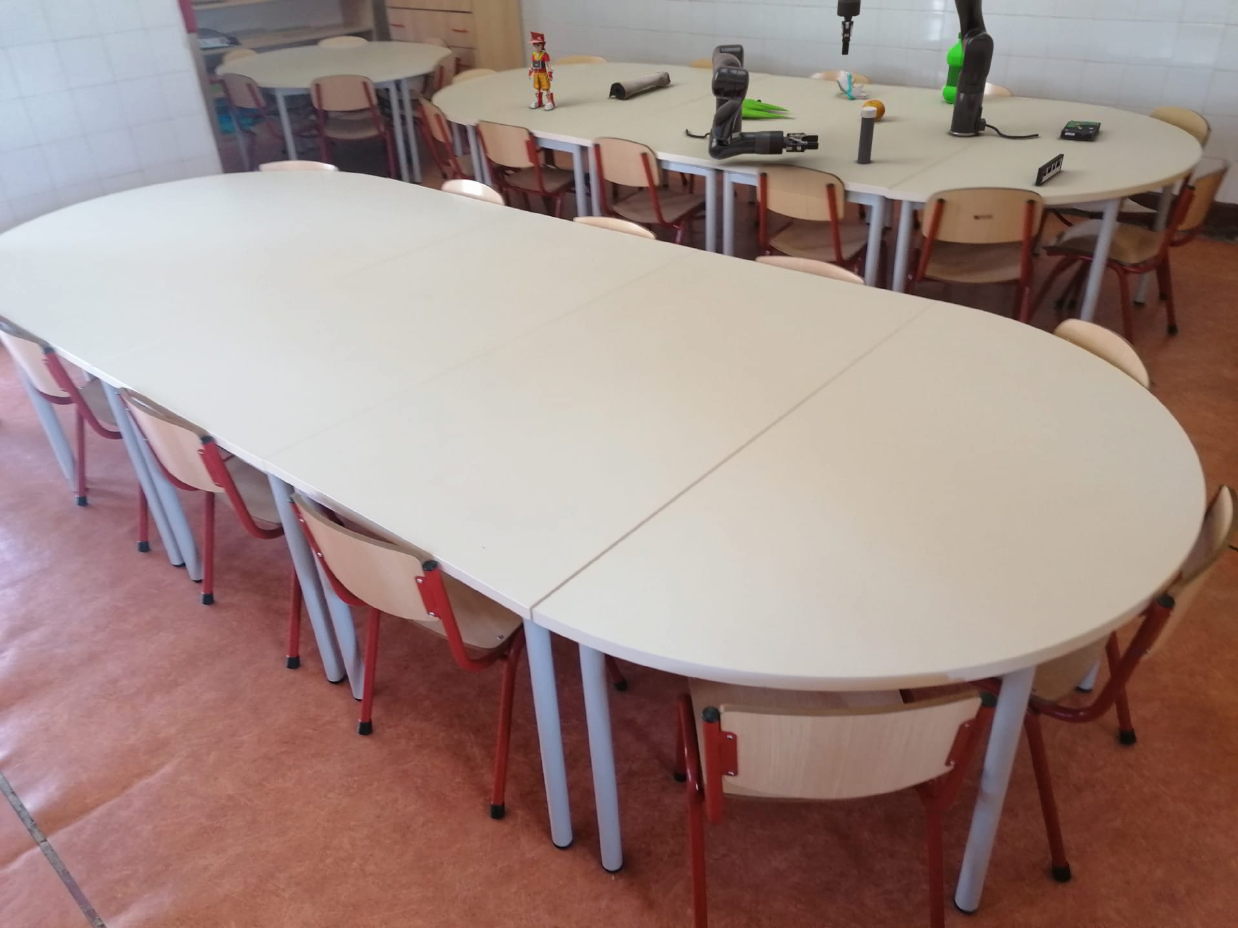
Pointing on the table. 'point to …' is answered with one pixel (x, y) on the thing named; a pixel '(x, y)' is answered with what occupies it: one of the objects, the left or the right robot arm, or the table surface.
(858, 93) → the anatomical model
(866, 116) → the lid
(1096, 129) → the disk drive
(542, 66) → the toy
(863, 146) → the dark cylinder
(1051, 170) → the midi keyboard
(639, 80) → the rolled mat
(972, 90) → the right robot arm
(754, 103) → the toy
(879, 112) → the fruit
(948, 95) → the green dumbbell
